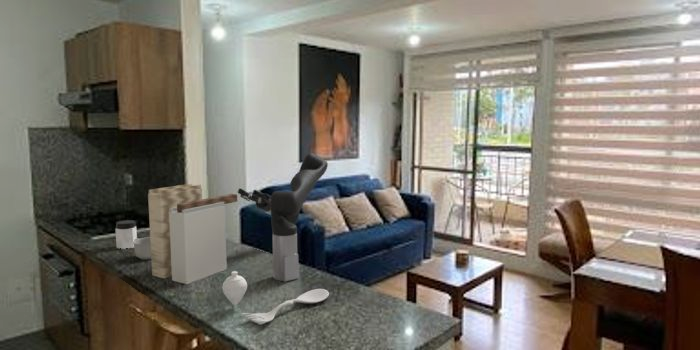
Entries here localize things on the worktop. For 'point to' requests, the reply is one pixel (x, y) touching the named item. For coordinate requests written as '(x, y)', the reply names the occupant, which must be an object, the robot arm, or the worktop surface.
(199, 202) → the walnut bar
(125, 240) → the jar
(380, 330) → the worktop surface
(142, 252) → the teacup
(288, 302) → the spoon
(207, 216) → the white upright box
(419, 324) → the worktop surface
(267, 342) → the worktop surface
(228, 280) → the spinning top
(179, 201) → the tall stand
